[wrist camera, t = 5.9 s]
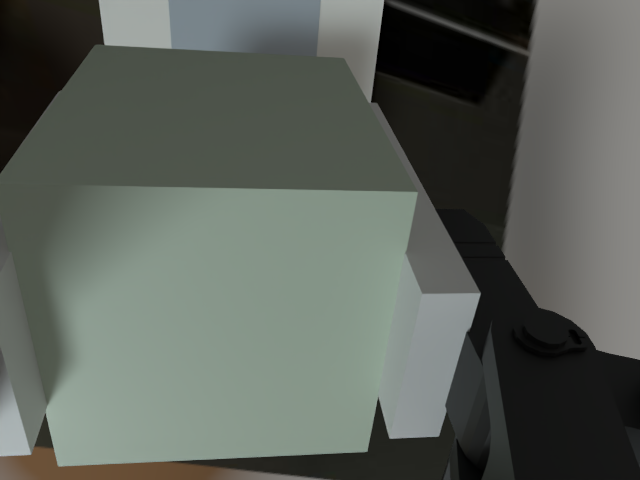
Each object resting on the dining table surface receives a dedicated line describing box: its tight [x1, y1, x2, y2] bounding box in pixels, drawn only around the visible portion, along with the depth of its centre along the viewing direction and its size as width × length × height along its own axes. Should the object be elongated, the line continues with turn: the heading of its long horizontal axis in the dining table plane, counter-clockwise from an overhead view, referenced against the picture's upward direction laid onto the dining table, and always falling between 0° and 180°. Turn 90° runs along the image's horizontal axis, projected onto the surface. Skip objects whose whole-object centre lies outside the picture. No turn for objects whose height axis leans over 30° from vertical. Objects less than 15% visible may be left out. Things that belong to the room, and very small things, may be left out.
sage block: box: [0, 45, 418, 466], centre depth 11 cm, size 5×5×6 cm
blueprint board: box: [99, 0, 384, 103], centre depth 28 cm, size 15×12×1 cm
